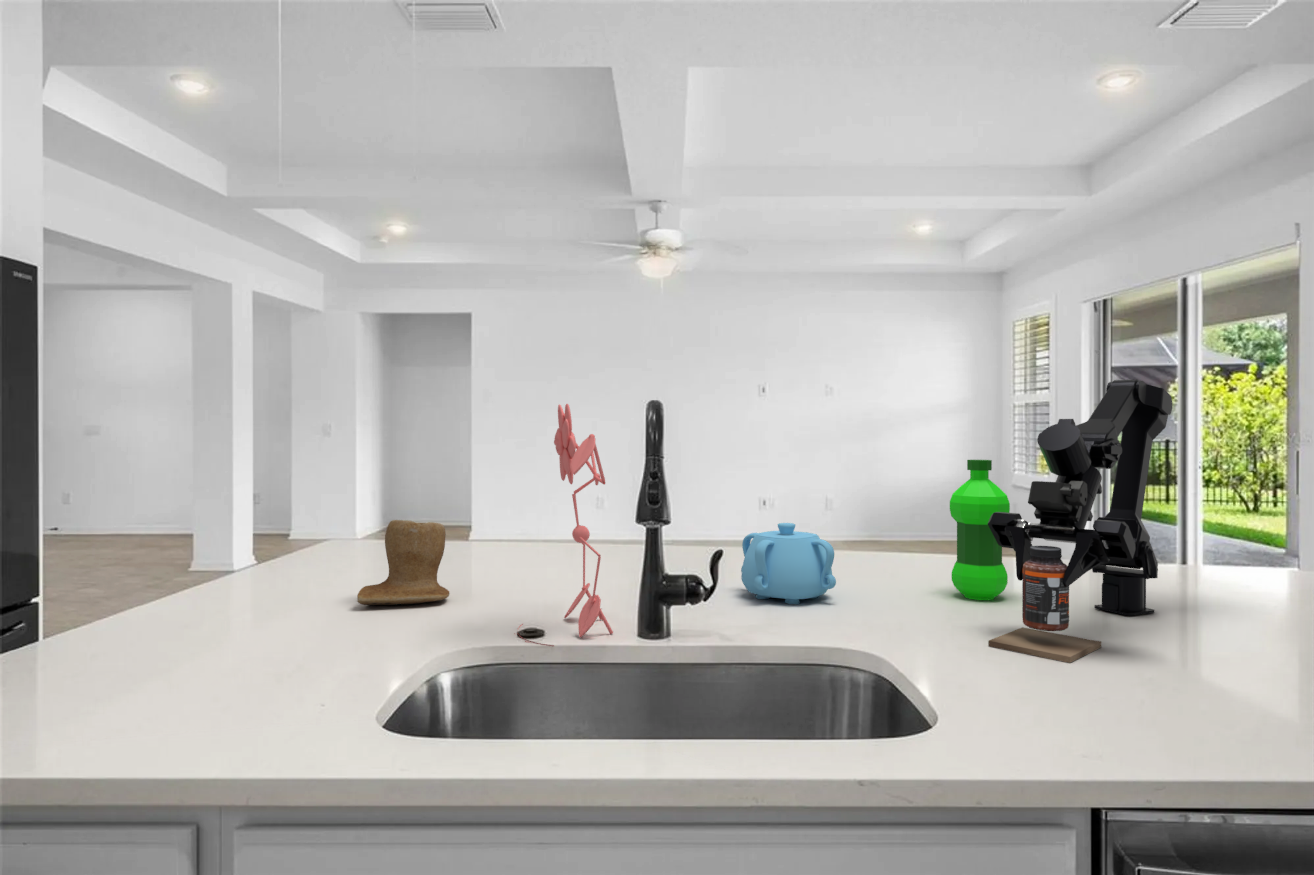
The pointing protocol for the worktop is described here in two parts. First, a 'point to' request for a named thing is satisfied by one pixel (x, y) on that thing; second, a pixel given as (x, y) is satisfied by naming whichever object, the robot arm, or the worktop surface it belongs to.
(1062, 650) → the walnut coaster board
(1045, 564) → the supplement bottle
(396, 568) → the brown chair seat
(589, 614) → the figurine
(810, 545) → the decorative pot
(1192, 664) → the worktop surface
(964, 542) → the plastic bottle
